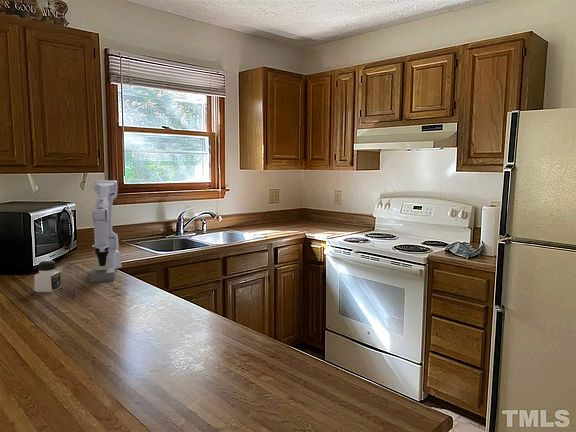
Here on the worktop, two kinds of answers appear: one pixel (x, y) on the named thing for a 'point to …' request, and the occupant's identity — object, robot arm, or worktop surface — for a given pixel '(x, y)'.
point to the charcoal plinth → (102, 274)
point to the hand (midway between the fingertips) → (102, 264)
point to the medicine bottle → (47, 277)
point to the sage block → (99, 264)
